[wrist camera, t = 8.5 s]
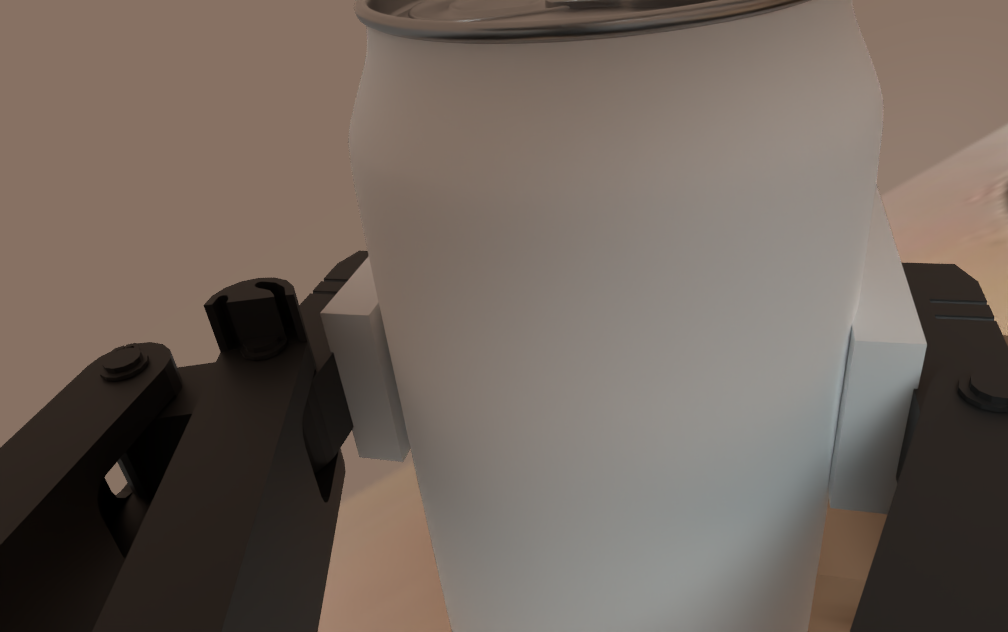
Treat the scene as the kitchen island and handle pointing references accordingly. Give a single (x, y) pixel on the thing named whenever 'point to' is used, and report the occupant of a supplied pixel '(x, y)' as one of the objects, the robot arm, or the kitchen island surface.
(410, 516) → the kitchen island surface
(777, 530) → the can
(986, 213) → the kitchen island surface
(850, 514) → the walnut board
